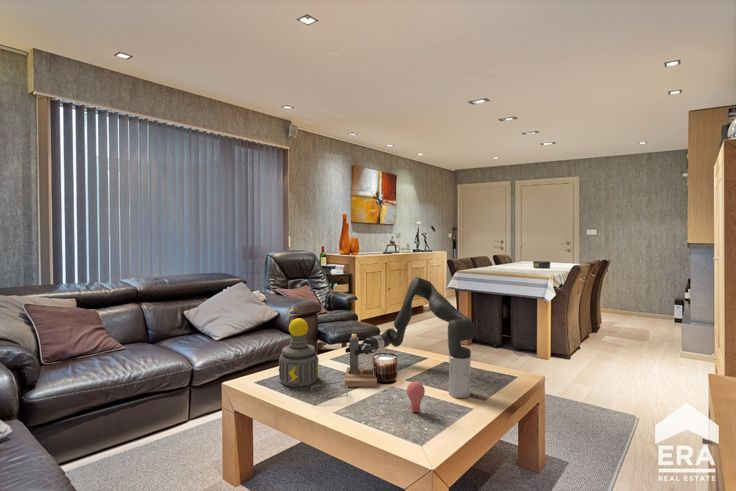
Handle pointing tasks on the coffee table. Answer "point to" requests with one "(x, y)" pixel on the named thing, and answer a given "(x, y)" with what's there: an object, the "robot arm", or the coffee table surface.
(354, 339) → the plug
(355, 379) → the socket board
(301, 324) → the decorative lamp
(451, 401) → the coffee table surface
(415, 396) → the light bulb
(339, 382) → the eyeglasses
